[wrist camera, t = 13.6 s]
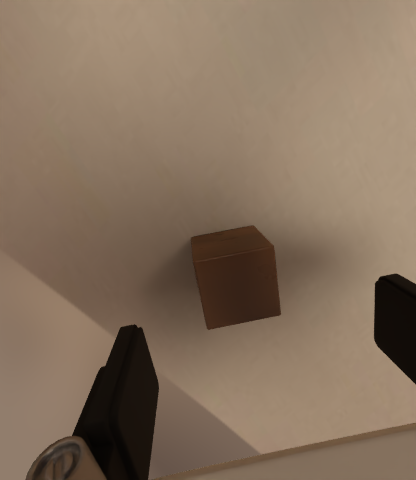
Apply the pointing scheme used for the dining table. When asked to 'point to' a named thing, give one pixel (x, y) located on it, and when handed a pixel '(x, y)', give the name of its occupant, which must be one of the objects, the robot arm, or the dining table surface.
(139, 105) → the dining table surface
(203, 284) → the block
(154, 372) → the robot arm
